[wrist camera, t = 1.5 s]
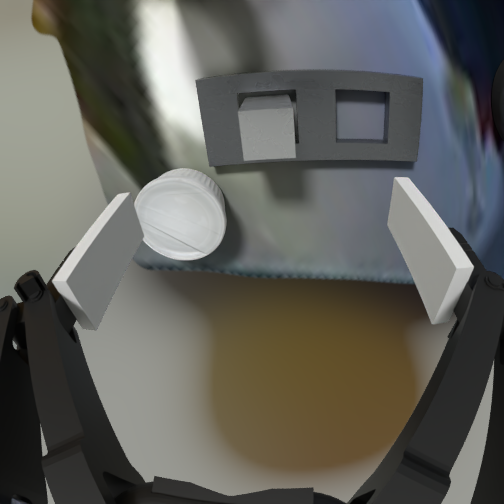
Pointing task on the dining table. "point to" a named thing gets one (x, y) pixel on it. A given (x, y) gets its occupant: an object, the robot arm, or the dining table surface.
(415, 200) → the robot arm
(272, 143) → the matte gray foam brick
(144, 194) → the ramekin
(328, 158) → the grey flat rectangular block
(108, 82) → the dining table surface
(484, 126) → the dining table surface
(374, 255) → the dining table surface
